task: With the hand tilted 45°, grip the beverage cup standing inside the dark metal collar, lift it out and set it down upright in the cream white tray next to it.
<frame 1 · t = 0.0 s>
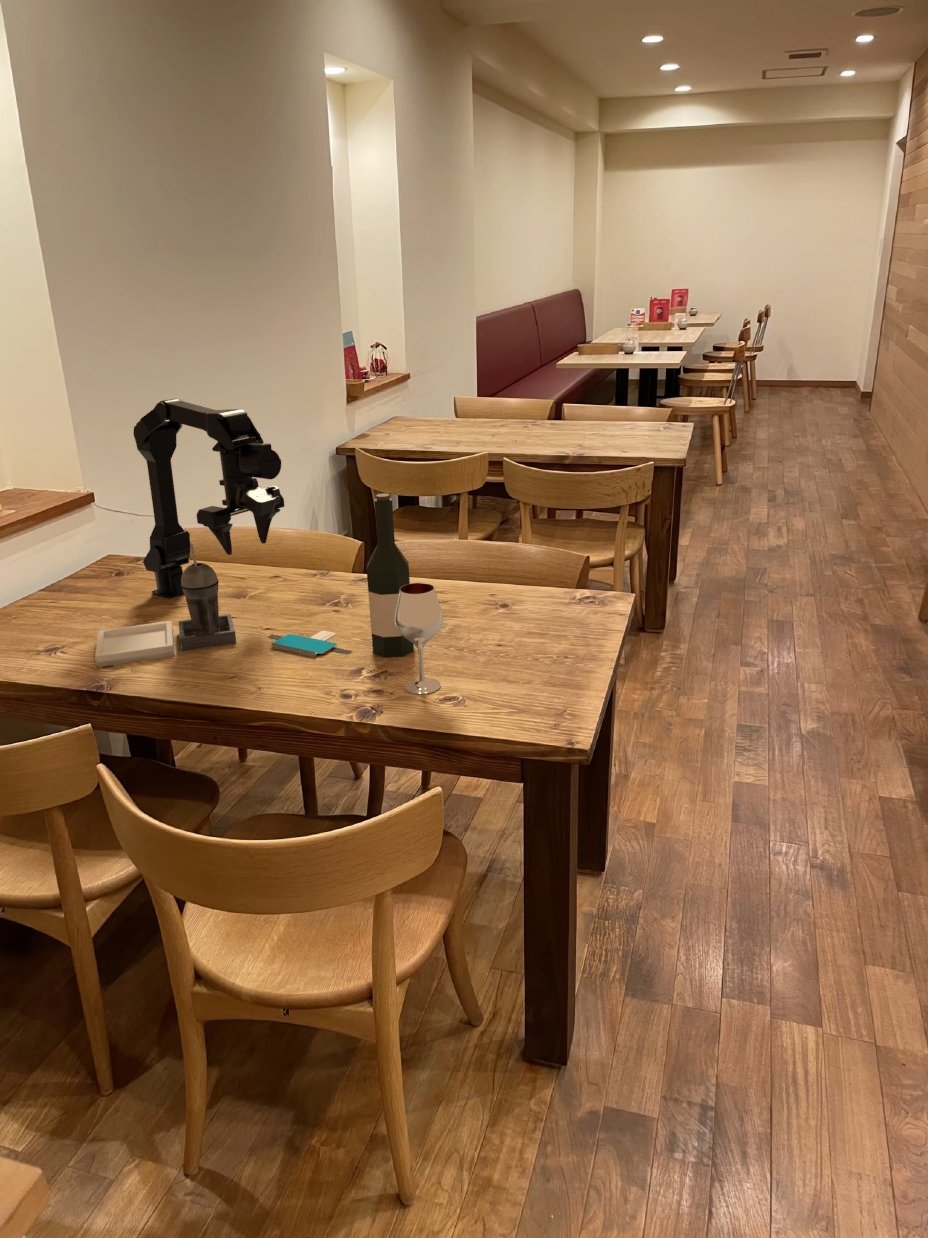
hand: (246, 548, 186), 15 cm above the table, tool pointing down, fingers open, 9 cm apart
wine bottle: (393, 650, 171), on the table
wineglass: (422, 687, 156), on the table
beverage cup: (208, 638, 180), resting in metal collar
cream white tray: (136, 648, 176), on the table
metal collar: (208, 637, 180), on the table
phone stand: (311, 646, 176), on the table
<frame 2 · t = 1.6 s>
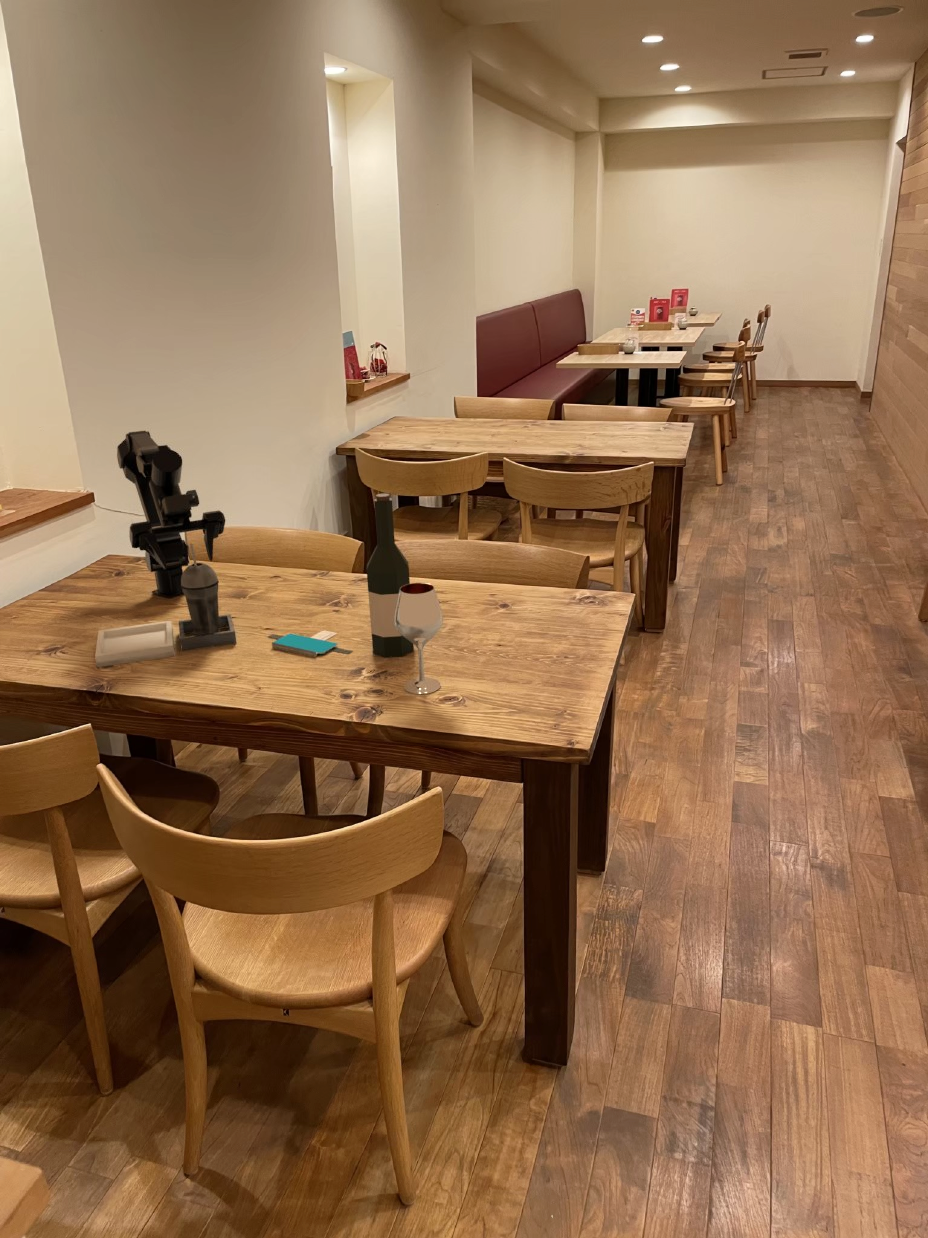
hand: (188, 564, 182), 13 cm above the table, tool tilted 45°, fingers open, 9 cm apart
nothing on the table moved.
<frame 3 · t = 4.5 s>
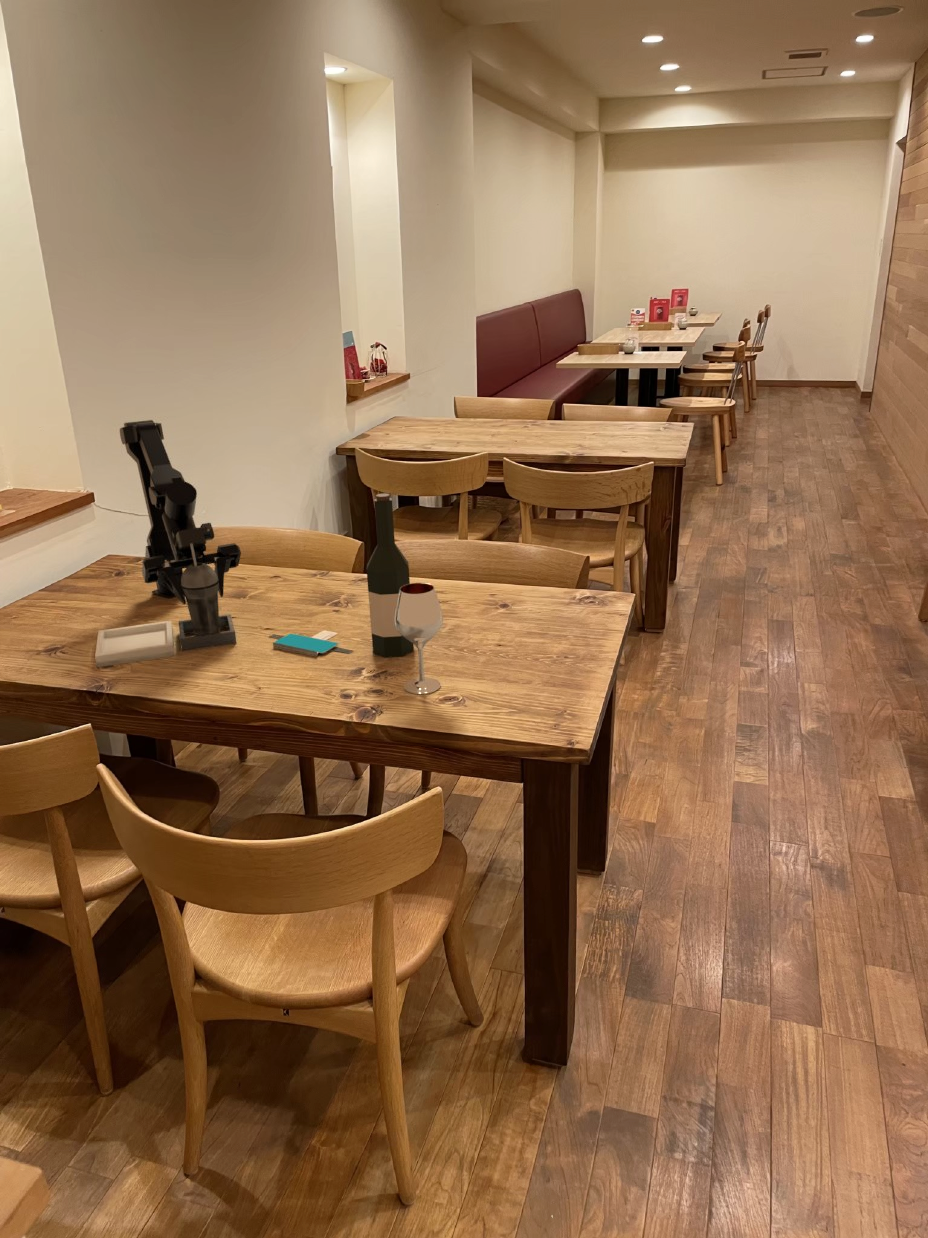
hand: (203, 599, 176), 9 cm above the table, tool tilted 45°, fingers closed on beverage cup, 7 cm apart
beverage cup: (208, 638, 180), resting in metal collar, touching gripper
everything else where it was.
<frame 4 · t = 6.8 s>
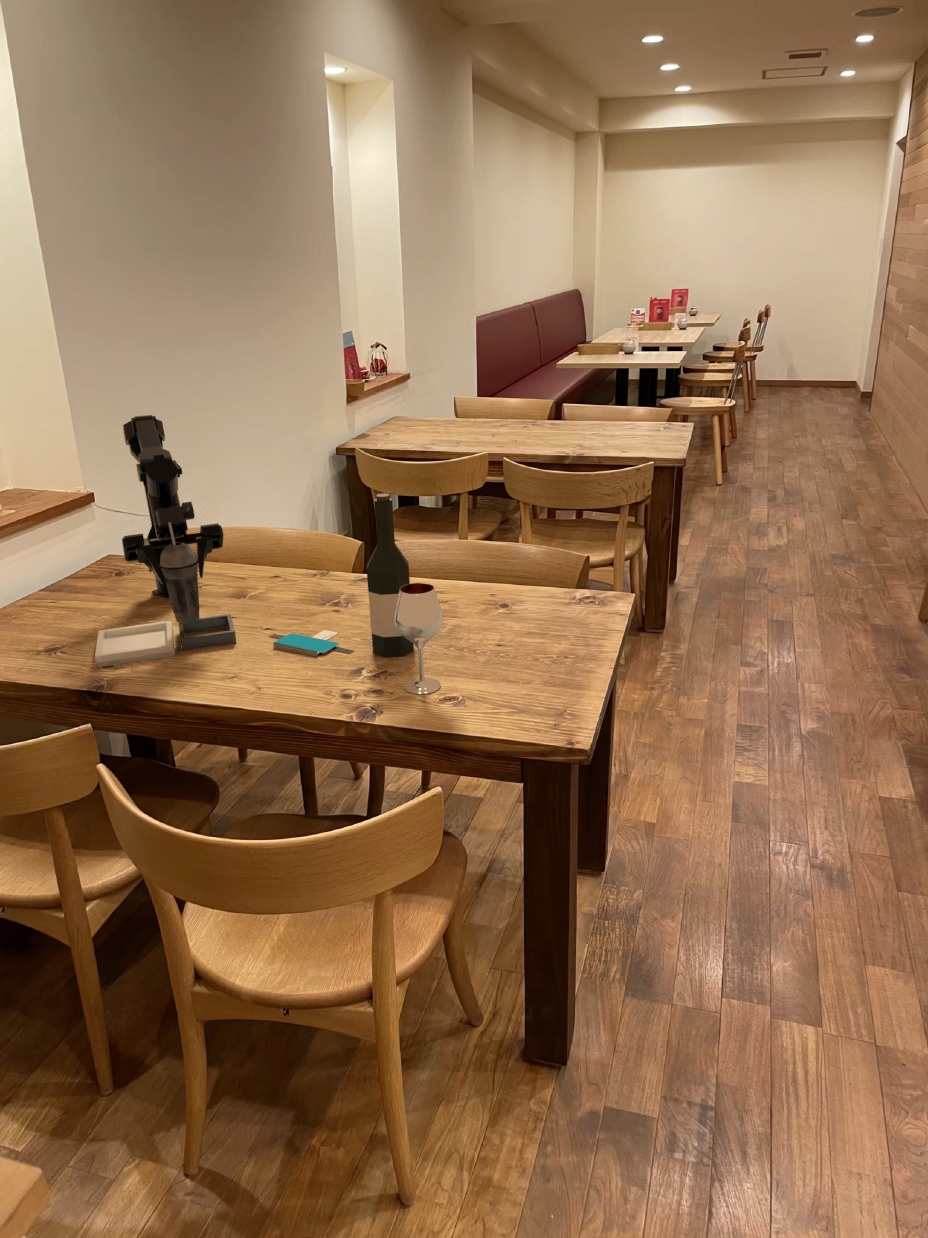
hand: (182, 579, 173), 13 cm above the table, tool tilted 45°, fingers closed on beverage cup, 7 cm apart
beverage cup: (188, 619, 177), point 4 cm above the table, touching gripper
everything else where it was.
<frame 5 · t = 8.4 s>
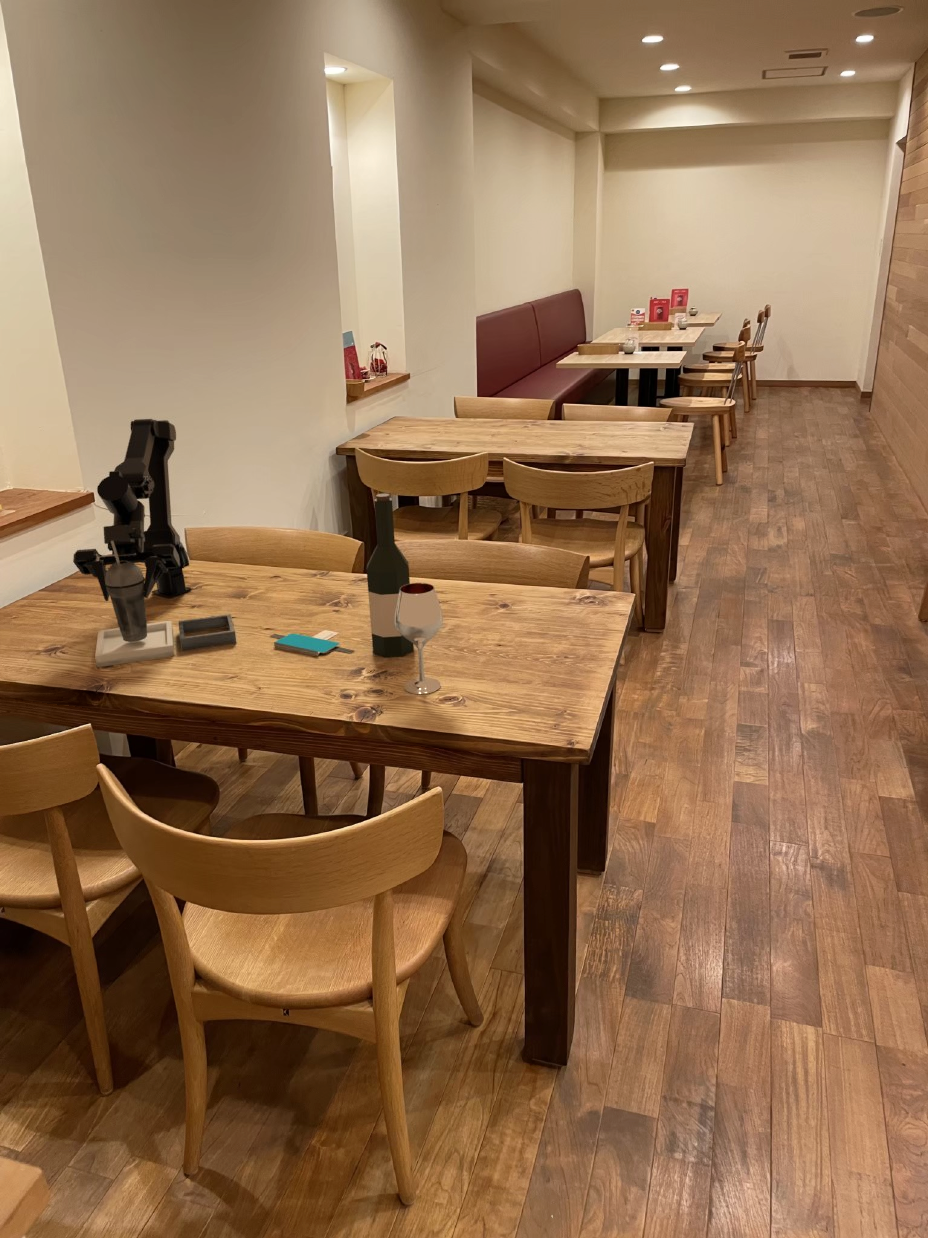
hand: (126, 598, 171), 11 cm above the table, tool tilted 45°, fingers closed on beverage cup, 7 cm apart
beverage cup: (135, 638, 176), point 2 cm above the table, touching gripper
everything else where it was.
when the fingers open (11 cm above the table, at t = 9.2 s): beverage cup drops 1 cm, resting on cream white tray.
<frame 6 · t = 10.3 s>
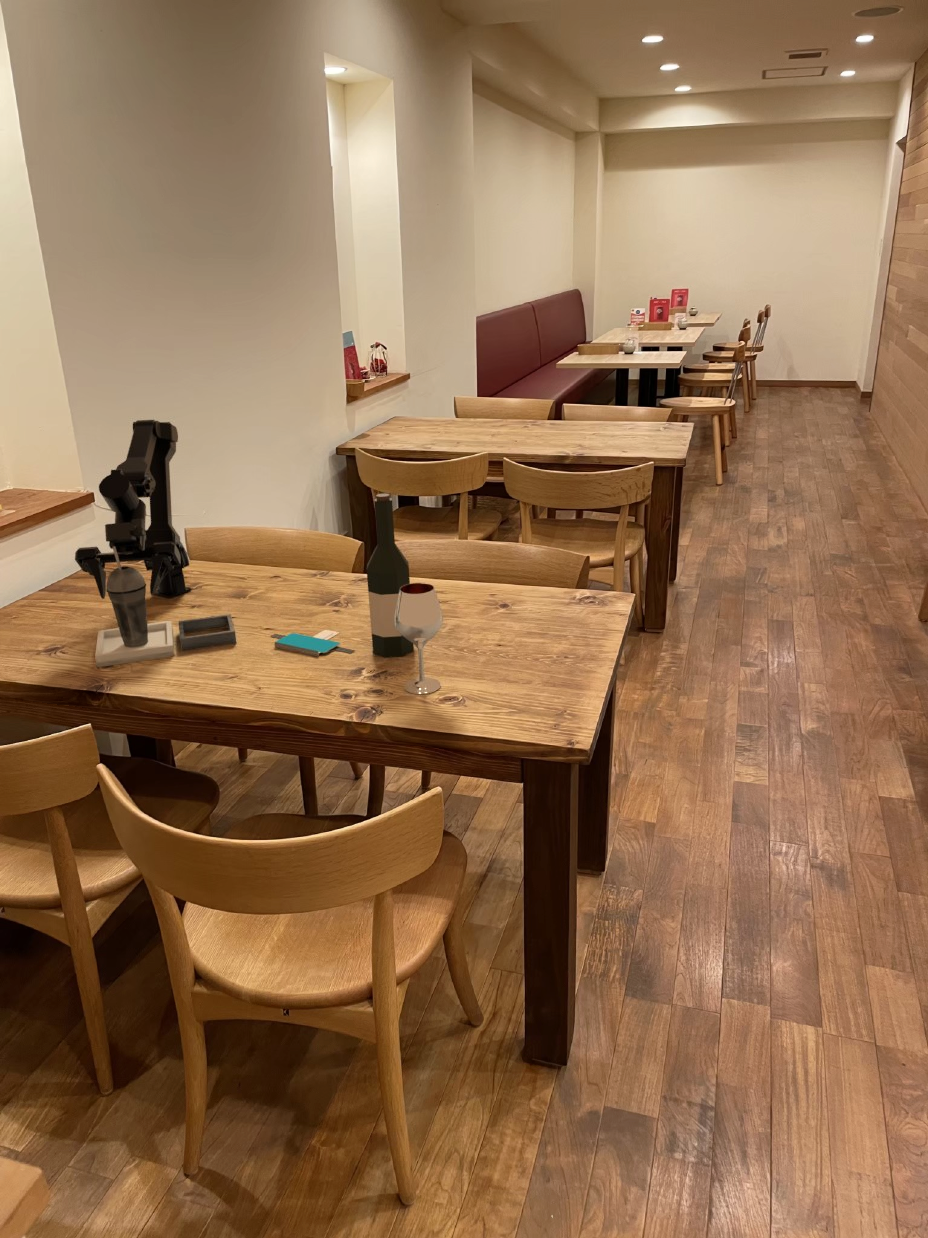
hand: (127, 596, 172), 11 cm above the table, tool tilted 45°, fingers open, 9 cm apart
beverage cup: (136, 643, 176), point 1 cm above the table, touching cream white tray
everything else where it was.
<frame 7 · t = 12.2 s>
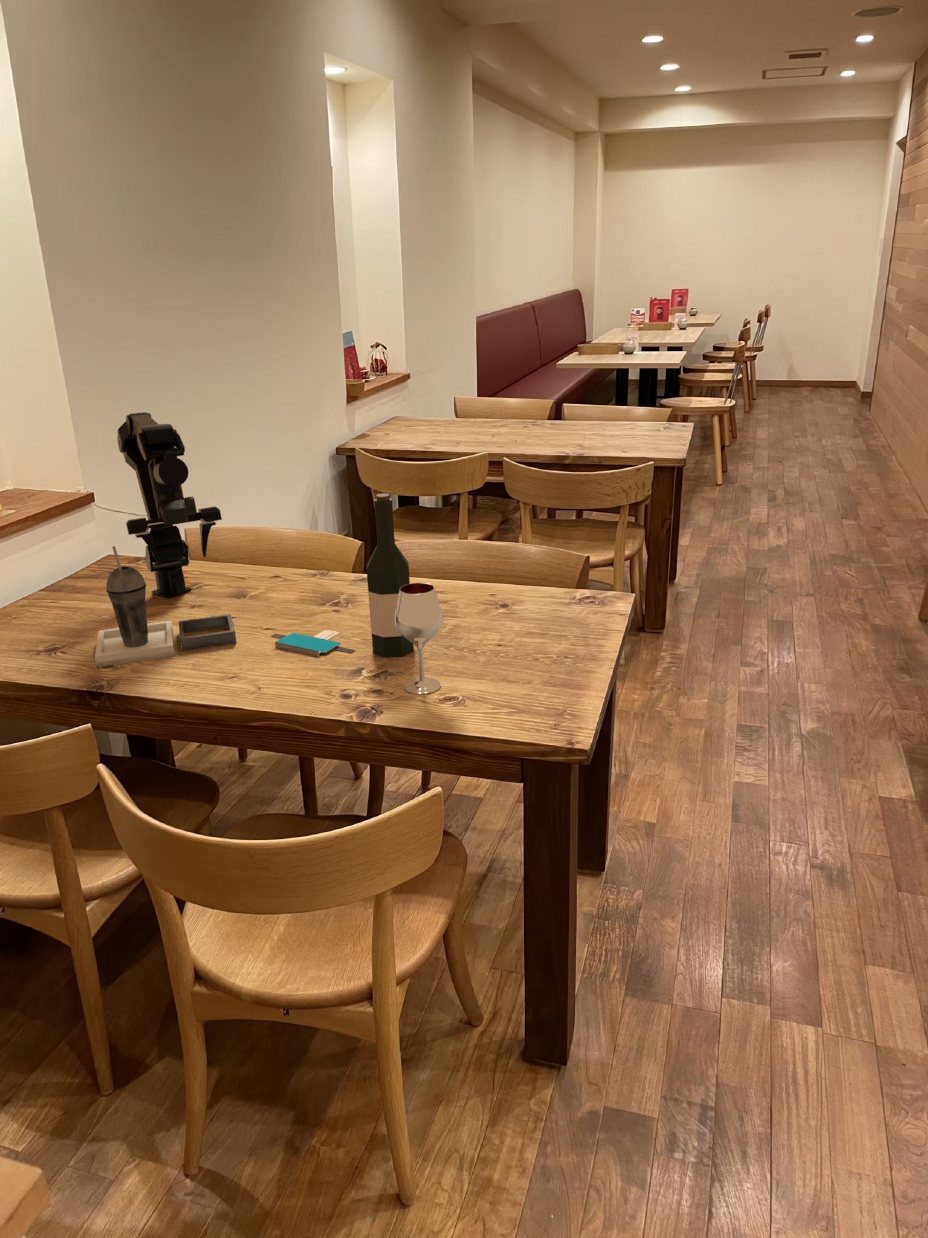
hand: (182, 560, 189), 12 cm above the table, tool pointing down, fingers open, 9 cm apart
nothing on the table moved.
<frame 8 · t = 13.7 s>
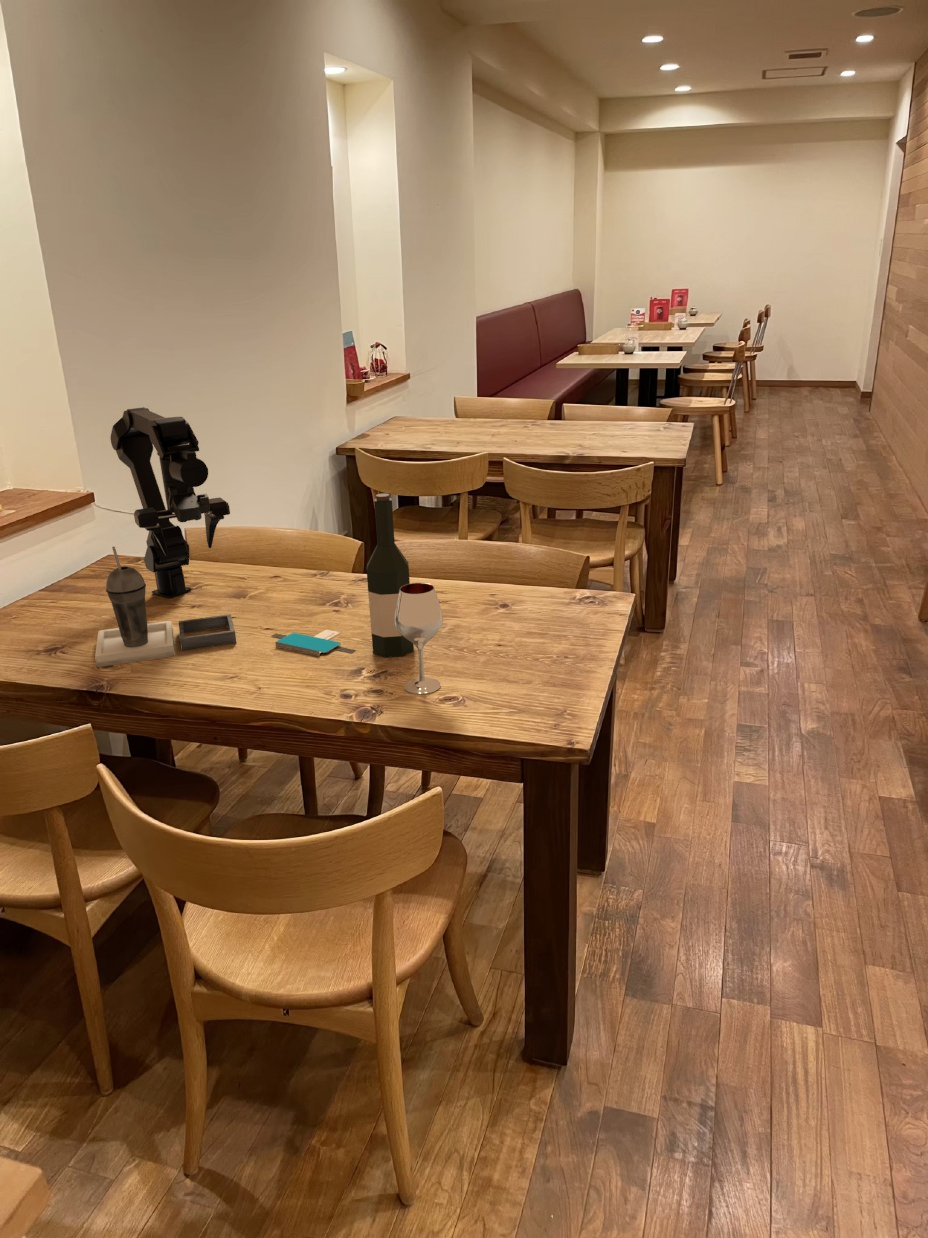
hand: (188, 551, 192), 13 cm above the table, tool pointing down, fingers open, 9 cm apart
nothing on the table moved.
at the end: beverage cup 0.2 cm off-centre on the cream white tray, point 0.8 cm above the cream white tray's base; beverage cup tilted 0°; the gripper is holding nothing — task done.
